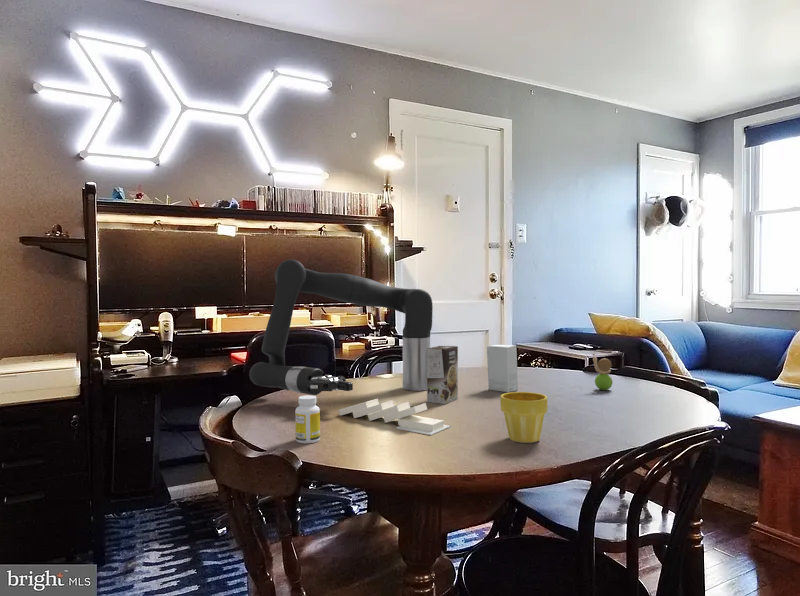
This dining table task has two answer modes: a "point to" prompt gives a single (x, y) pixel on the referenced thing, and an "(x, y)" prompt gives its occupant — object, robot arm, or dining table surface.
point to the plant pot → (524, 415)
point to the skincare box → (502, 368)
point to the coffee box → (442, 374)
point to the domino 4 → (405, 412)
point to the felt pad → (422, 430)
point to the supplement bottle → (307, 420)
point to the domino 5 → (421, 423)
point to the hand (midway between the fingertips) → (350, 386)
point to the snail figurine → (603, 373)
